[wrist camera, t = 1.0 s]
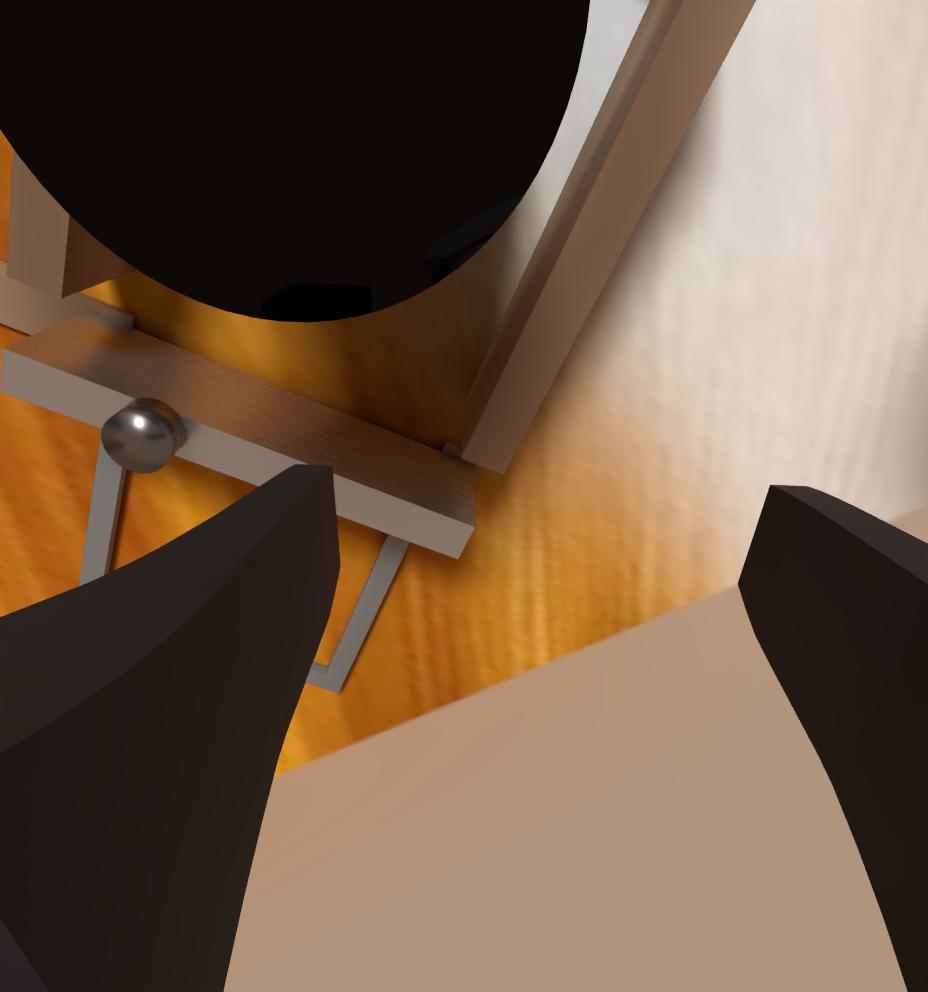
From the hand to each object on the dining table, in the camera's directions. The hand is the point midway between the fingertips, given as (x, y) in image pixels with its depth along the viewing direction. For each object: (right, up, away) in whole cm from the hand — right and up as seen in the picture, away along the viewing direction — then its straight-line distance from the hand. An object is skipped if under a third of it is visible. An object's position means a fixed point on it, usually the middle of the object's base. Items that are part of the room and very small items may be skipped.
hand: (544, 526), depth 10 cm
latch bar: (-7, +3, +9) cm, 12 cm away
